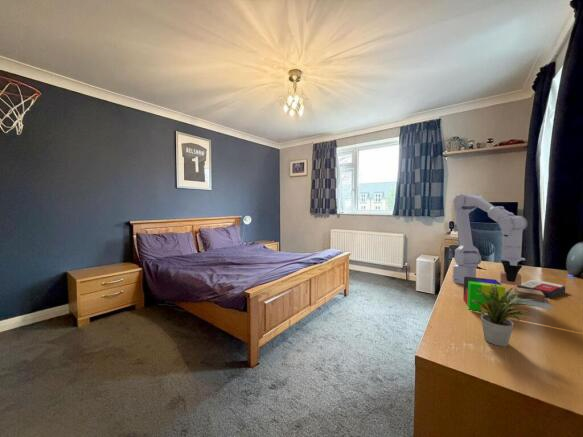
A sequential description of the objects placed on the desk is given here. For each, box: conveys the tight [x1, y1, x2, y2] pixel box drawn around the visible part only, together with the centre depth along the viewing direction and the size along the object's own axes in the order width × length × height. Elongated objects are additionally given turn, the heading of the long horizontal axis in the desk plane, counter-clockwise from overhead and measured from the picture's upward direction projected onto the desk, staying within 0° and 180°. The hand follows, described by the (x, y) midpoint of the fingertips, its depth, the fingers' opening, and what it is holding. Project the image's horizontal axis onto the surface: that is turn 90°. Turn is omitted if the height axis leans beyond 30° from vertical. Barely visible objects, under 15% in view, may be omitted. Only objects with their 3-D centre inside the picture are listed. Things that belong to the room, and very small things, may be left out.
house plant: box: [472, 283, 534, 347], centre depth 67 cm, size 14×14×16 cm
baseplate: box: [505, 290, 555, 311], centre depth 100 cm, size 20×16×1 cm
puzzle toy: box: [462, 276, 506, 313], centre depth 91 cm, size 10×10×10 cm
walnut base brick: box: [514, 286, 546, 301], centre depth 100 cm, size 8×6×2 cm
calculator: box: [516, 279, 566, 299], centre depth 107 cm, size 11×4×15 cm
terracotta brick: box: [499, 270, 522, 287], centre depth 97 cm, size 6×4×4 cm, turn 54°
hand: (510, 279), depth 97 cm, fingers closed on terracotta brick, 4 cm apart
